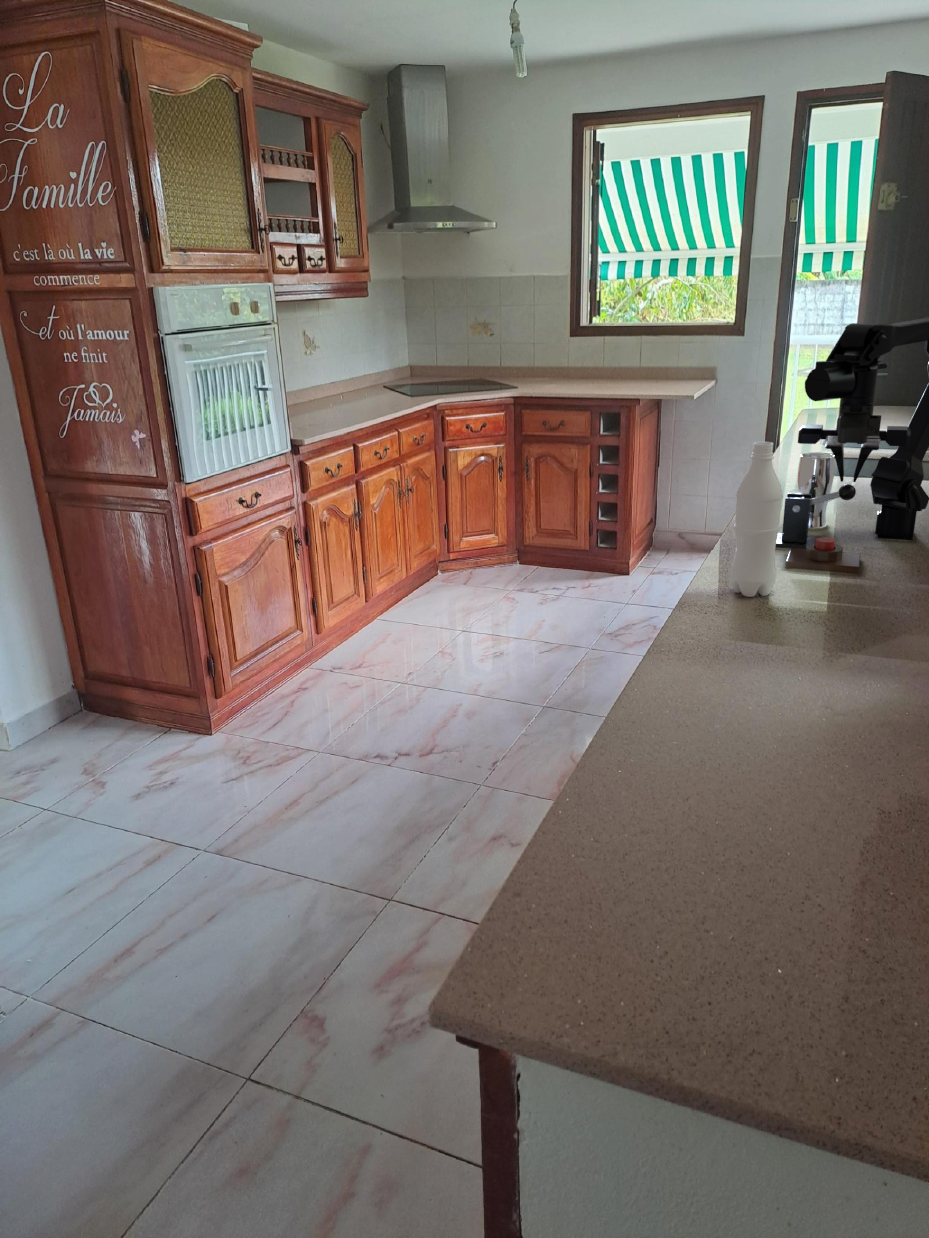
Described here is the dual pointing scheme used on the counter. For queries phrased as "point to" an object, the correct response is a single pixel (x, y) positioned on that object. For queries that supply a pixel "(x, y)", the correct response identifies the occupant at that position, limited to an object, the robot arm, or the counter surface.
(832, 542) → the red push button
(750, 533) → the water bottle
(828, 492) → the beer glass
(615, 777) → the counter surface
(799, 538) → the black lever housing
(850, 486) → the lever with ball knob
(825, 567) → the control block
